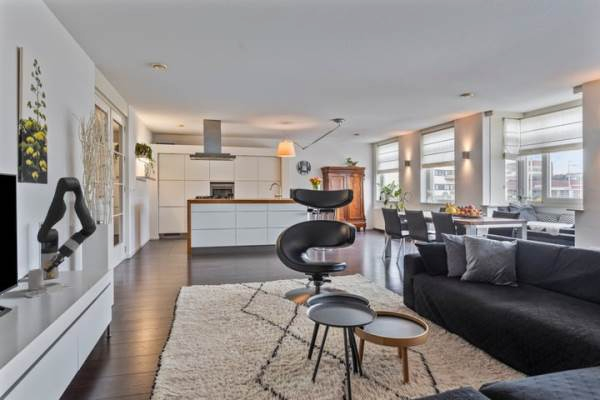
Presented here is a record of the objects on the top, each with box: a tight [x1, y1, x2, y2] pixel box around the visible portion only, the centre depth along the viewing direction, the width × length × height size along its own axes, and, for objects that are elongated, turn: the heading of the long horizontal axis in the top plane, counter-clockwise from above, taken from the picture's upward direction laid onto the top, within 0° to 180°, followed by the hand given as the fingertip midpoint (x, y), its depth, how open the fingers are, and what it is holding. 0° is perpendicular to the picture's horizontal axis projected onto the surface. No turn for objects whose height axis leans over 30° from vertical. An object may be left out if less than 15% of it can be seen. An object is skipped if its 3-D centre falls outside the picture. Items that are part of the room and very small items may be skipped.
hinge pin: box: [45, 261, 56, 280], centre depth 208 cm, size 4×4×10 cm
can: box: [27, 268, 45, 292], centre depth 213 cm, size 8×8×12 cm
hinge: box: [24, 281, 76, 299], centre depth 208 cm, size 9×23×4 cm, turn 154°
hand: (46, 271), depth 206 cm, fingers closed on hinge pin, 4 cm apart
